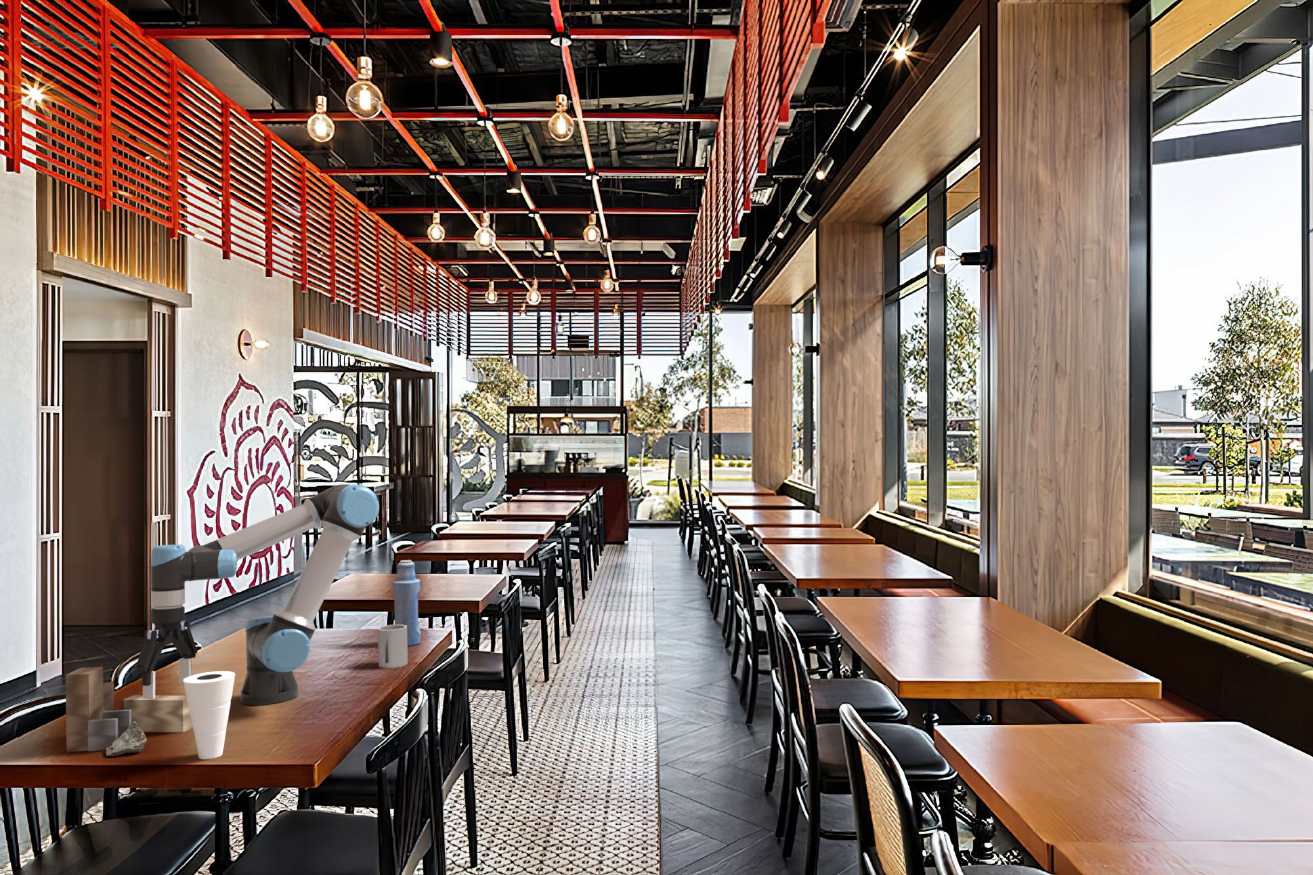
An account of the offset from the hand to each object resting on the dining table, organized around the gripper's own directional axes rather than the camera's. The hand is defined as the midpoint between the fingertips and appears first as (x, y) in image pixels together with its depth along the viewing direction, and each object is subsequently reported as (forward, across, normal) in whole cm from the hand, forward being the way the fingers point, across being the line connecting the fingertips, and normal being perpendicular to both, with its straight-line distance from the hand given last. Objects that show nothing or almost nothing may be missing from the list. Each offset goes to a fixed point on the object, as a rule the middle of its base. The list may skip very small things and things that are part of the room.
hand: (167, 691), depth 220 cm
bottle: (+8, -97, +23) cm, 100 cm away
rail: (+10, 0, -3) cm, 10 cm away
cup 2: (+10, +17, +23) cm, 30 cm away
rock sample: (+10, +16, +1) cm, 19 cm away
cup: (+9, -68, +30) cm, 75 cm away
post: (+10, +8, -10) cm, 16 cm away
